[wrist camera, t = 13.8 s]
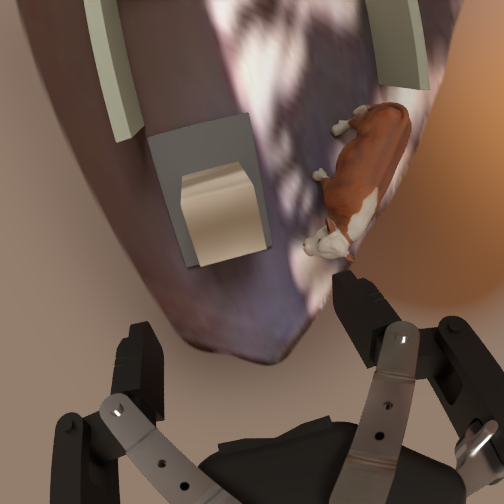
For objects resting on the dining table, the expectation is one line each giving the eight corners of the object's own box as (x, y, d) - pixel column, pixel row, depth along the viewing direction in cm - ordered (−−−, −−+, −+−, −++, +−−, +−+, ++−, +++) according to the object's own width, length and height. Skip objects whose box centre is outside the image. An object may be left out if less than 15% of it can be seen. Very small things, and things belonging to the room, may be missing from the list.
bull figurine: (275, 218, 29) (305, 266, 22) (349, 87, 24) (406, 95, 17) (314, 235, 30) (350, 284, 23) (385, 114, 25) (444, 131, 18)
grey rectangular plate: (147, 137, 23) (146, 138, 23) (247, 112, 24) (248, 113, 23) (186, 264, 29) (186, 267, 29) (271, 243, 30) (272, 245, 29)
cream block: (182, 176, 25) (180, 205, 19) (238, 161, 25) (253, 185, 20) (197, 226, 27) (200, 266, 22) (249, 212, 27) (266, 248, 22)
